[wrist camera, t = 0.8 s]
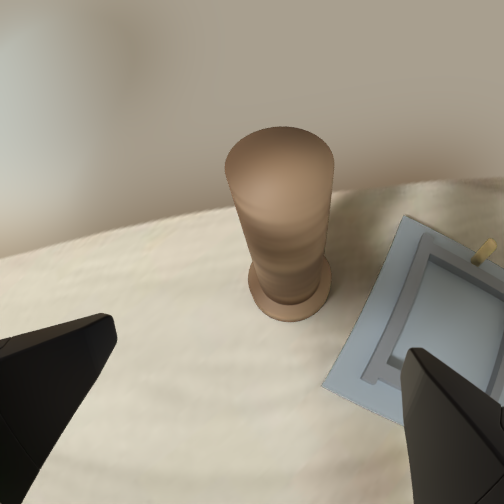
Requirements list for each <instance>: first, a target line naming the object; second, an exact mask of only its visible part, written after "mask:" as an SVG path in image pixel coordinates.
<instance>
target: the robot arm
mask: <svg viewBox="0 0 504 504" xmlns="http://www.w3.org/2000/svg"><path fill="white" fill-rule="evenodd" d="M116 343H117V333H116V329H115V324H114V320H113V317H112V316H111V315H109V314H104V313H98V314H95V315H91V316H88V317H84V318H80V319H77V320H73V321H69V322H66V323H62V324H58V325H54V326H51V327H47V328H43V329H40V330H36V331H32V332H28V333H24V334H21V335H17V336H13V337H12V338H11V337H9V338H5V339H1V340H0V503H1V504H21V503H22V502H23V500H24V498H25V496H26V494H27V492H28V491H29V489H30V487H31V485H32V483H33V482H34V480H35V478H36V476H37V475H38V473H39V471H40V469H41V467H42V466H43V464H44V462H45V461H46V459H47V457H48V456H49V454H50V452H51V451H52V449H53V447H54V446H55V444H56V442H57V441H58V439H59V438H60V436H61V434H62V433H63V431H64V429H65V428H66V426H67V425H68V423H69V422H70V420H71V418H72V417H73V415H74V414H75V412H76V411H77V409H78V407H79V406H80V404H81V403H82V401H83V400H84V398H85V397H86V395H87V394H88V392H89V391H90V389H91V388H92V386H93V385H94V383H95V382H96V380H97V378H98V377H99V375H100V373H101V371H102V369H103V368H104V366H105V364H106V362H107V360H108V358H109V356H110V354H111V353H112V351H113V349H114V347H115V345H116ZM400 381H401V394H402V408H403V423H404V430H405V436H406V442H407V449H408V456H409V463H410V471H411V480H412V489H413V500H414V504H504V406H502V407H501V404H500V403H498V402H497V401H496V400H494V399H493V398H491V397H490V396H489V395H487V394H486V393H485V392H483V391H482V390H481V389H479V388H478V387H477V386H475V385H474V384H472V383H471V382H470V381H468V380H467V379H466V378H464V377H463V376H461V375H460V374H459V373H457V372H456V371H455V370H453V369H452V368H450V367H449V366H448V365H446V364H445V363H443V362H442V361H441V360H439V359H438V358H436V357H435V356H434V355H432V354H431V353H429V352H428V351H427V350H425V349H424V348H421V347H412V348H409V349H408V351H407V354H406V357H405V360H404V363H403V366H402V369H401V374H400Z"/></svg>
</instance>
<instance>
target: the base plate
mask: <svg viewBox="0 0 504 504" xmlns="http://www.w3.org/2000/svg"><path fill="white" fill-rule="evenodd" d="M496 248H497V244H496V242H495V241H494V240H493V239H491V238H489V239H488V240H487V241H486V242H485V243H484V244H483V246H482V247H481V248H480V249H479V250H478V251H477V252H474V251H472V250H470V249H469V248H467V247H465V246H463V245H461V244H459V243H458V242H456V241H454V240H452V239H450V238H448V237H446V236H444V235H443V234H441V233H439V232H437V231H435V230H433V229H431V228H429V227H427V226H425V225H423V224H421V223H419V222H417V221H415V220H413V219H411V218H409V217H407V216H403V218H402V220H401V222H400V225H399V227H398V230H397V232H396V235H395V237H394V240H393V242H392V245H391V247H390V250H389V252H388V255H387V257H386V259H385V262H384V264H383V266H382V269H381V271H380V273H379V275H378V278H377V280H376V282H375V284H374V286H373V289H372V291H371V293H370V295H369V297H368V299H367V301H366V303H365V305H364V308H363V310H362V312H361V314H360V316H359V318H358V320H357V322H356V324H355V326H354V328H353V329H352V331H351V333H350V335H349V337H348V339H347V341H346V343H345V345H344V347H343V348H342V350H341V352H340V354H339V356H338V358H337V359H336V361H335V363H334V365H333V366H332V368H331V370H330V372H329V373H328V375H327V377H326V379H325V380H324V382H323V384H322V385H321V386H322V387H324V388H325V389H327V390H329V391H331V392H333V393H335V394H337V395H339V396H341V397H343V398H345V399H347V400H349V401H351V402H353V403H355V404H357V405H359V406H361V407H363V408H365V409H367V410H369V411H371V412H374V413H376V414H378V415H380V416H382V417H384V418H386V419H389V420H391V421H393V422H395V423H397V424H400V425H402V426H404V423H403V408H402V394H401V381H400V374H401V369H402V366H403V363H404V360H405V357H406V354H407V351H408V349H409V348H412V347H421V348H424V349H425V350H427V351H428V352H429V353H431V354H432V355H434V356H435V357H436V358H438V359H439V360H441V361H442V362H443V363H445V364H446V365H448V366H449V367H450V368H452V369H453V370H455V371H456V372H457V373H459V374H460V375H461V376H463V377H464V378H466V379H467V380H468V381H470V382H471V383H472V384H474V385H475V386H477V387H478V388H479V389H481V390H482V391H483V392H485V393H486V394H487V395H489V396H490V397H491V398H493V399H494V400H496V401H497V402H498V403H500V404H501V407H502V406H504V269H503V268H501V267H500V266H498V265H496V264H495V263H493V262H491V261H490V260H488V259H487V258H488V257H489V256H490V255H491V254H492V253H493V252H494V251H495V249H496Z"/></svg>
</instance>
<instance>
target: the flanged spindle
mask: <svg viewBox="0 0 504 504" xmlns="http://www.w3.org/2000/svg"><path fill="white" fill-rule="evenodd" d="M225 174H226V178H227V181H228V184H229V187H230V191H231V194H232V197H233V200H234V203H235V207H236V210H237V213H238V216H239V219H240V223H241V226H242V229H243V232H244V235H245V238H246V242H247V245H248V248H249V251H250V254H251V257H252V261H253V262H252V264H251V266H250V269H249V274H248V284H249V288H250V291H251V294H252V296H253V299H254V301H255V303H256V305H257V306H258V307H259V309H260V310H261V311H262V312H263V313H265V314H266V315H267V316H269V317H271V318H273V319H275V320H278V321H283V322H296V321H301V320H304V319H307V318H309V317H311V316H312V315H314V314H315V313H316V312H318V311H319V309H320V308H321V307H322V306H323V305H324V303H325V301H326V299H327V297H328V294H329V290H330V285H331V269H330V266H329V263H328V261H327V259H326V258H325V256H324V251H325V244H326V236H327V228H328V220H329V212H330V203H331V194H332V184H333V174H334V158H333V154H332V152H331V150H330V148H329V147H328V146H327V144H326V143H325V142H324V141H323V140H322V139H320V138H319V137H318V136H316V135H314V134H312V133H310V132H308V131H305V130H303V129H299V128H294V127H271V128H266V129H262V130H259V131H256V132H253V133H251V134H250V135H248V136H246V137H244V138H243V139H241V140H240V141H239V142H238V143H237V144H236V145H235V146H234V147H233V148H232V149H231V151H230V152H229V154H228V156H227V159H226V162H225Z"/></svg>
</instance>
